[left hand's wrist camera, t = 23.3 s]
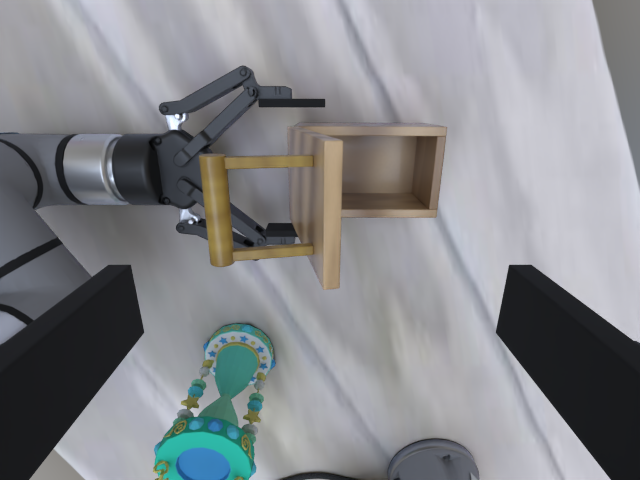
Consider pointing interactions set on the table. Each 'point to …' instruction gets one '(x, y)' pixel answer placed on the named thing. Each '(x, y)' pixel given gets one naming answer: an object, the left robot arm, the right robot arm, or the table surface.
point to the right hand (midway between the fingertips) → (324, 170)
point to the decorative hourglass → (219, 412)
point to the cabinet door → (304, 200)
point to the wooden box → (388, 167)
